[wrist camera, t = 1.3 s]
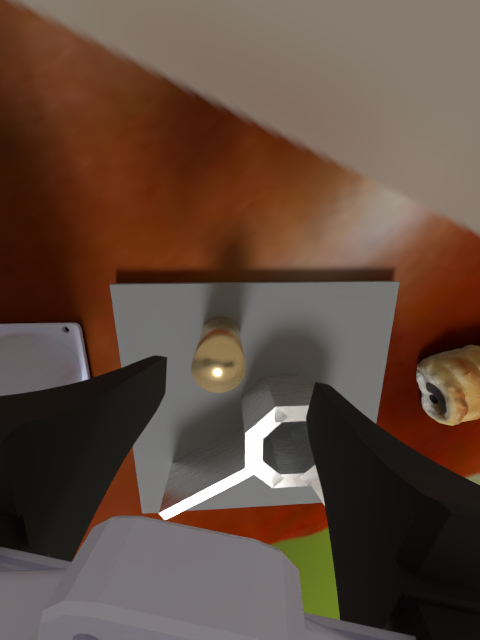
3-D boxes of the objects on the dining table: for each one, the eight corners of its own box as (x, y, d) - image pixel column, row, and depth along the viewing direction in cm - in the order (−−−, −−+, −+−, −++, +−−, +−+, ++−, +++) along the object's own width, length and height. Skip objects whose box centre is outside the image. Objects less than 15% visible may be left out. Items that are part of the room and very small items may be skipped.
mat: (145, 503, 24) (142, 513, 23) (115, 283, 19) (109, 284, 18) (358, 490, 25) (363, 499, 24) (391, 280, 20) (399, 281, 19)
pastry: (508, 323, 22) (566, 337, 18) (511, 385, 23) (565, 409, 20) (408, 358, 22) (445, 379, 18) (419, 417, 24) (454, 446, 20)
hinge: (175, 501, 23) (164, 558, 19) (164, 377, 20) (146, 411, 15) (334, 491, 24) (358, 544, 20) (349, 371, 21) (382, 402, 16)
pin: (202, 352, 19) (192, 393, 14) (200, 316, 19) (189, 343, 13) (239, 351, 20) (245, 391, 14) (239, 315, 19) (245, 342, 13)
